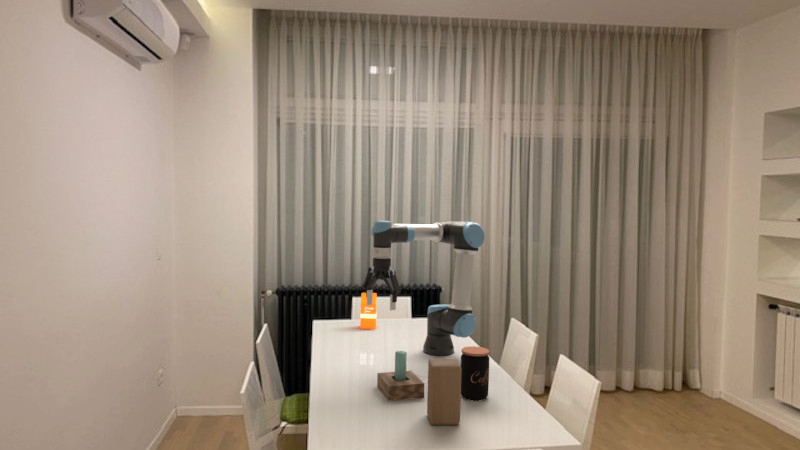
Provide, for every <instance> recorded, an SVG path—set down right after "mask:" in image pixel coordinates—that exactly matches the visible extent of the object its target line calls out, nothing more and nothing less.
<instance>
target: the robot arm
mask: <svg viewBox="0 0 800 450" xmlns="http://www.w3.org/2000/svg"><path fill="white" fill-rule="evenodd" d="M371 235H372V237H373V238H372V239H373V243H372V244H373V245H372V246H373V247H372V248H373V251H372V255H373V256H372V257H373V258H372V267H370V266H369V267H368V269H367V274H366V276H365V278H364V282H363V284H362V288H363V289H365V293H366V297H367V306H369V305H372V303H373V293H374V289H373V287H374V286H375V285H376V283H377V281H378V280H381V281H383V282H385V284H386V286H387V288H388V290H389V292H390V293H391V294H390V295H389V311H396V309H397V308H396V307H397V306H396V305H397V301H398V294H402V293H401V292H402V290H401V287H400V285H399V281H398V279H397V274H396V273H397V271H396V270H395V269H393V270H392V269H390V268H391V266H392V259H391V257H392V244H398V243H400V244H401V243H403V244H404V243H405V244H407V243H412V242H413V241H433V242H434V243H443V244H448V245H452V246H453V251H454V252H456V254H455V264H454V273H453V286H452V296H451V303H450V304H449V303H448V304H443V303H440V304H432V305H429V306H428V308H427V314H426V315H427V318H426V319H427V320H426V327H427V328H426V330H427V332H426V338H425V340H424V342H423V346H422V347H423V348H422V351H423V352H424V353H425V354H428V355H433V356H447V355H448V356H449V355H452V354H453V353H454V352H455V346H454V342H453V339H452V336H455V337H457V338H463V339H465V338H468V337H470V336H472V334H473V333H474V332H475V330H476V328H477V324H478V323H477V318H476V316H475V315H474V314H473V311H474V310H473V308H472V306H471V305H470V304H471V296H472V286H473V285H472V284H473V275H474V265H475V264H474V263H475V255H476V254H477V253H478V252H479V248H480V247H482V245H483V244H484V242H485V237H486V236H485V231H484V229H483V227H482V225H480V224H479V223H477V222H472V221H462V220H461V221H459V220H452V221H451V220H450V221H442V222H440V221H439V222H438V221H437V222H433V223H432V224H431V223H430V224H429V223H428V224H427V223H425V224H424V223H423V224H422V223H420V224H419V223H392V221H390V220H376V221H374V223H373V226H372V228H371ZM451 335H452V336H451Z"/></svg>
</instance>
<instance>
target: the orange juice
mask: <svg viewBox="0 0 800 450" xmlns="http://www.w3.org/2000/svg"><path fill="white" fill-rule="evenodd" d="M377 293H378V292H377ZM377 293H376V292H373V303H372V305H369V306H367V297H366V292H361V296H360V299H361V300H360V323H359V325H360V327H359V328H360V329H361V330H363V329H368V330H369V329H370V330H371V329H372V330H376V328H377V315H378V314H377V310H378V309H377V307H378V306H377V305H378V304H377V303H378V301H377V300H378V299H377V298H378V297H377V296H378V295H377Z"/></svg>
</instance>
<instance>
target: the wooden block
mask: <svg viewBox="0 0 800 450" xmlns="http://www.w3.org/2000/svg"><path fill="white" fill-rule="evenodd" d="M427 364H428V366H427V367H428V368H427V402H426V403H427V404H426V407H427V408H426V409H427V410H426V414H427V416H428V419H429V422H430V424H431V425H432V426H436V425H437V426H445V425H447V426H448V425H449V426H451V425H452V426H453V425H460V423H461V401H462V400H461V398H462V396H461V364H460V363H459V361H458V360H457V359H456V358H429V359H428V362H427Z"/></svg>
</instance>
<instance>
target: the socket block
mask: <svg viewBox="0 0 800 450" xmlns="http://www.w3.org/2000/svg"><path fill="white" fill-rule="evenodd" d="M376 375H377V379H376V380H377V381H376V387H377V388H378V389H379V391H380V392H381V393H382V395H383V396H384V397H385V398H386V399H387V401H388V402H393V401H401V400H402V401H404V400H411V399H412V400H415V399H424V398H425V382H424V381H423V380H422V379H421V378H420V377H418V375H416V374H415V373H414V372H413V370H406V380H403V381H395V371H389V372H388V371H387V372H377V374H376Z"/></svg>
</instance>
